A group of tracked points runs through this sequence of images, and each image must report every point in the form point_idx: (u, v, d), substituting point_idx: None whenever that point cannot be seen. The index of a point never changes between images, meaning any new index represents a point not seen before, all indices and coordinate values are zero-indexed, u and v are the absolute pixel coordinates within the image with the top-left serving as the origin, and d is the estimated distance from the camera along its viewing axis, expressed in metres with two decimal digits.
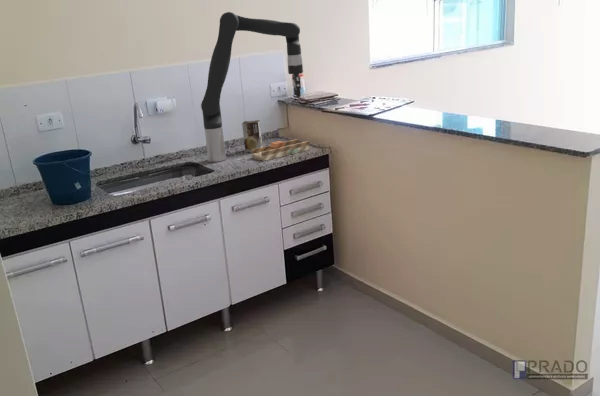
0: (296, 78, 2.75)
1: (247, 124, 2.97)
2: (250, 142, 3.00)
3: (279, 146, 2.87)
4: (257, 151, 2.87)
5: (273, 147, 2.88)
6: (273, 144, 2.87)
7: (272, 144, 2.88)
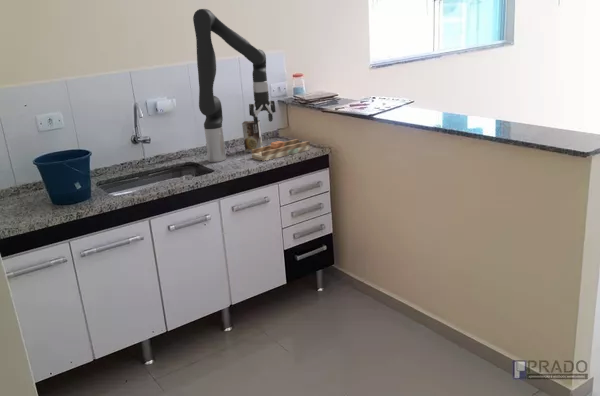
0: None
1: (247, 124, 2.97)
2: (250, 142, 3.00)
3: (279, 146, 2.87)
4: (257, 151, 2.87)
5: (273, 147, 2.88)
6: (273, 144, 2.87)
7: (272, 144, 2.88)
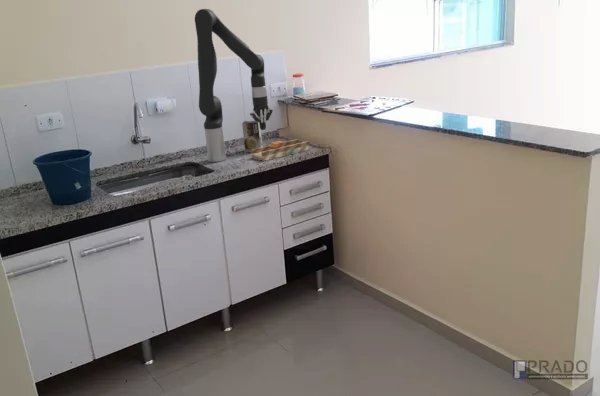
0: None
1: (247, 124, 2.97)
2: (250, 142, 3.00)
3: (279, 146, 2.87)
4: (257, 151, 2.87)
5: (273, 147, 2.88)
6: (273, 144, 2.87)
7: (272, 144, 2.88)
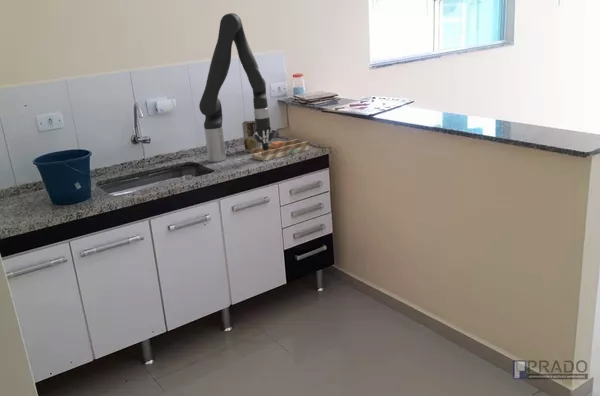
0: None
1: (247, 124, 2.97)
2: (250, 142, 3.00)
3: (279, 146, 2.87)
4: (257, 151, 2.87)
5: (273, 147, 2.88)
6: (273, 144, 2.87)
7: (272, 144, 2.88)
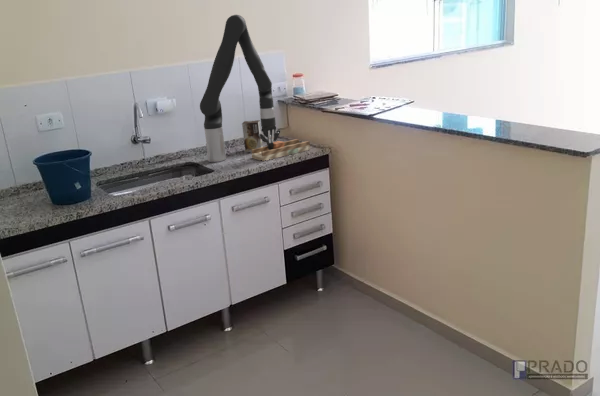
0: None
1: (247, 124, 2.97)
2: (250, 142, 3.00)
3: (279, 146, 2.87)
4: (257, 151, 2.87)
5: (273, 147, 2.88)
6: (273, 144, 2.87)
7: None
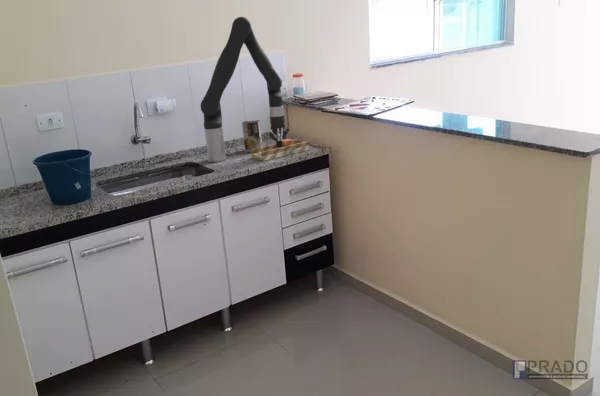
0: None
1: (247, 124, 2.97)
2: (250, 142, 3.00)
3: (288, 144, 2.90)
4: (257, 151, 2.87)
5: (282, 145, 2.91)
6: (282, 142, 2.91)
7: None
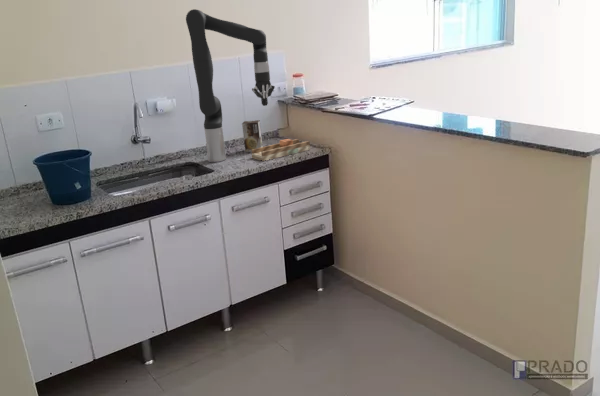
0: None
1: (247, 124, 2.97)
2: (250, 142, 3.00)
3: (288, 144, 2.90)
4: (257, 151, 2.87)
5: (282, 145, 2.91)
6: (282, 142, 2.91)
7: (281, 142, 2.92)
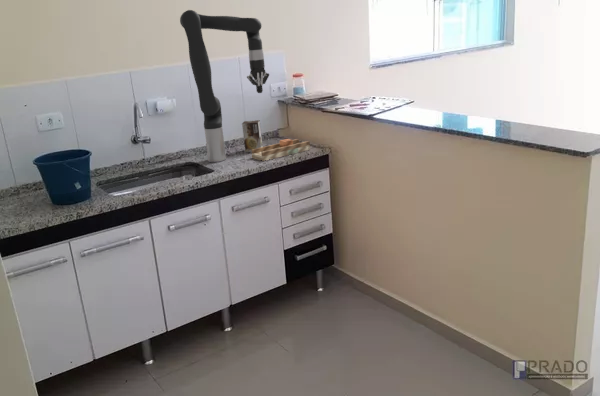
0: None
1: (247, 124, 2.97)
2: (250, 142, 3.00)
3: (288, 144, 2.90)
4: (257, 151, 2.87)
5: (282, 145, 2.91)
6: (282, 142, 2.91)
7: (281, 142, 2.92)
